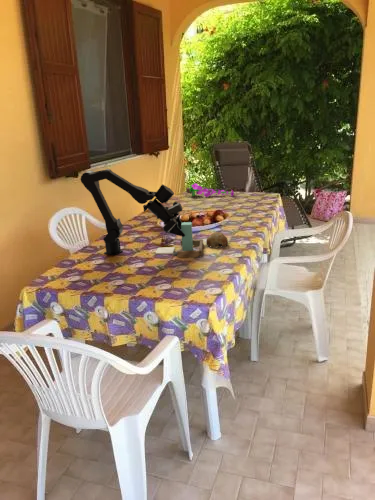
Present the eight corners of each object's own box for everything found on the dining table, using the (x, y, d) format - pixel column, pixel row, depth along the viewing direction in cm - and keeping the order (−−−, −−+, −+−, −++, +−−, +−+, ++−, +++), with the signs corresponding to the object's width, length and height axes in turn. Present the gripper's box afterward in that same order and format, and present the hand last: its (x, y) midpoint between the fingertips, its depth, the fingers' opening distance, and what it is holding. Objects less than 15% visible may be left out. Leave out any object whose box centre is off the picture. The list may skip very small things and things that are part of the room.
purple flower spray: (187, 201, 324) (233, 204, 317) (183, 193, 308) (232, 197, 302) (189, 185, 326) (235, 188, 320) (185, 177, 310) (234, 180, 304)
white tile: (155, 254, 196) (155, 253, 196) (157, 248, 204) (157, 247, 204) (173, 253, 195) (173, 252, 195) (174, 248, 203) (174, 247, 203)
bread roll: (209, 255, 202) (211, 242, 197) (202, 241, 209) (204, 228, 204) (229, 252, 205) (231, 240, 199) (222, 238, 212) (224, 226, 206)
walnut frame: (177, 257, 191) (177, 251, 190) (180, 245, 207) (180, 240, 207) (201, 256, 190) (201, 251, 189) (203, 244, 206) (202, 239, 206)
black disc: (179, 256, 192) (179, 255, 191) (170, 255, 194) (170, 254, 194) (186, 253, 195) (186, 252, 195) (177, 251, 198) (177, 251, 198)
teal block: (182, 252, 197) (181, 225, 193) (183, 249, 201) (181, 222, 197) (192, 252, 196) (191, 224, 192) (193, 249, 201) (191, 222, 197)
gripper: (168, 202, 183) (196, 226, 185) (173, 193, 200) (198, 215, 203) (152, 220, 186) (179, 244, 188) (157, 210, 203) (182, 232, 206)
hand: (185, 233), depth 196 cm, fingers open, 9 cm apart
